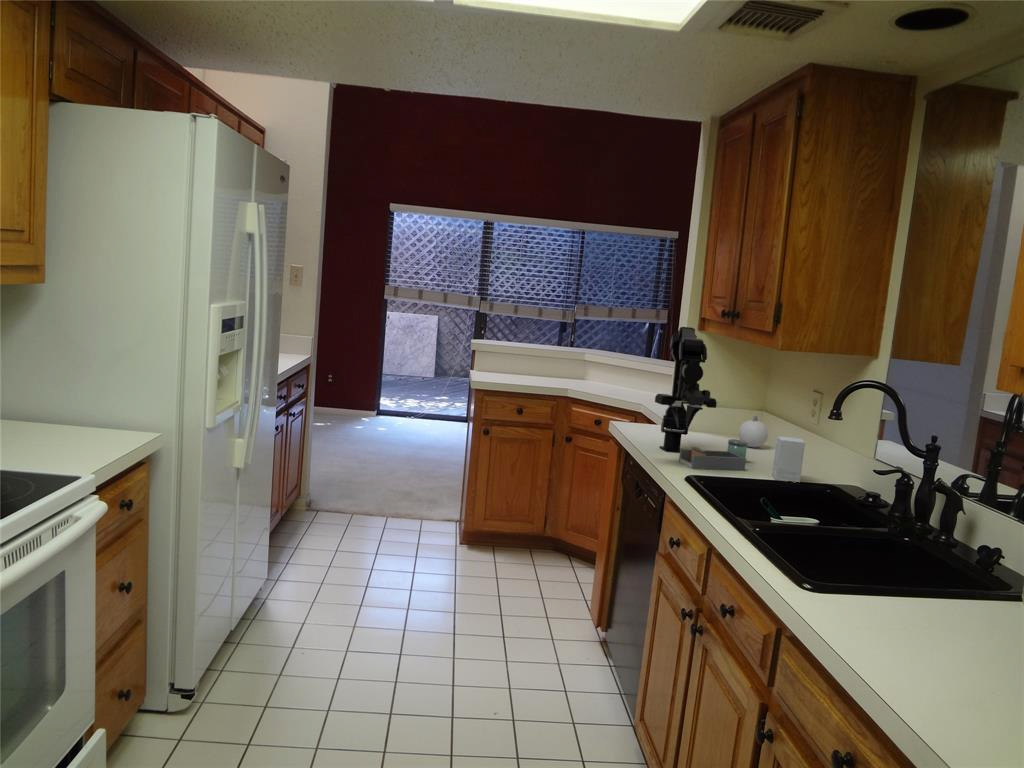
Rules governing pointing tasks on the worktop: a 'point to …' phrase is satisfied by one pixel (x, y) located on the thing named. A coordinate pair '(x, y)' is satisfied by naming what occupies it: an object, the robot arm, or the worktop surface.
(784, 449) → the supplement box
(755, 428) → the ornament
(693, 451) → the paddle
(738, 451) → the jar
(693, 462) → the gray tray
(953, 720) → the worktop surface
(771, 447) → the worktop surface
